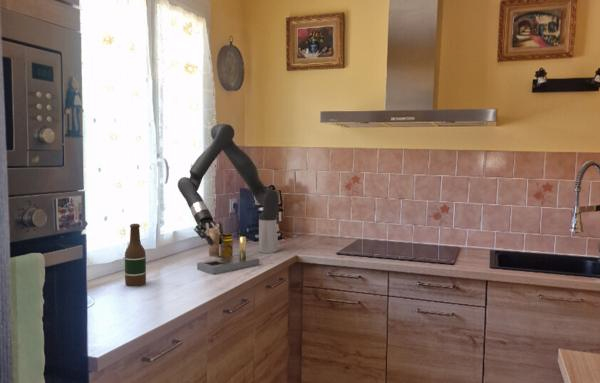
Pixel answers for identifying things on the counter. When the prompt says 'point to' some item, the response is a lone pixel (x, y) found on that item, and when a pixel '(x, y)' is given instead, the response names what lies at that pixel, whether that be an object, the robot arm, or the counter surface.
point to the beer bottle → (135, 259)
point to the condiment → (226, 246)
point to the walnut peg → (214, 242)
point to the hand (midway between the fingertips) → (216, 243)
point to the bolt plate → (229, 261)
